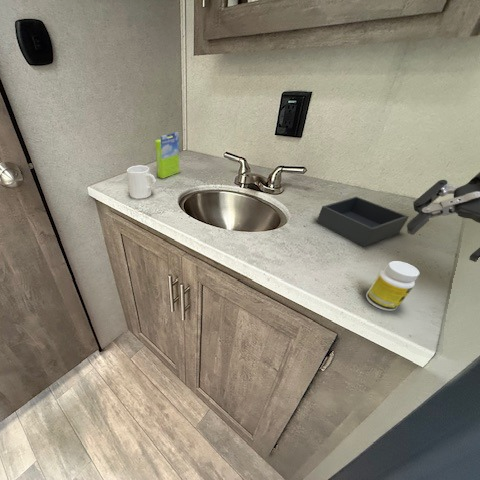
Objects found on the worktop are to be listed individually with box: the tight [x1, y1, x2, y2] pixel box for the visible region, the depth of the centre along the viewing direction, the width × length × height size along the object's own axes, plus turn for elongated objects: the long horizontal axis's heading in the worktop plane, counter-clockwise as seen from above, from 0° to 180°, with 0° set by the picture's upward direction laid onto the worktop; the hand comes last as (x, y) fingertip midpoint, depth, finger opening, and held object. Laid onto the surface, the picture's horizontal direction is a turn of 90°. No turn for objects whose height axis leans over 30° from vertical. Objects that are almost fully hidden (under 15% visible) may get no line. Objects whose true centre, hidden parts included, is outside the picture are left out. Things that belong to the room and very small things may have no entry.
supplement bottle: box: [365, 260, 420, 312], centre depth 43 cm, size 5×5×8 cm
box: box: [154, 131, 180, 179], centre depth 103 cm, size 10×4×17 cm, turn 132°
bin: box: [316, 196, 410, 248], centre depth 65 cm, size 13×13×5 cm
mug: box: [126, 164, 157, 200], centre depth 88 cm, size 8×12×10 cm
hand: (438, 244), depth 41 cm, fingers open, 8 cm apart
